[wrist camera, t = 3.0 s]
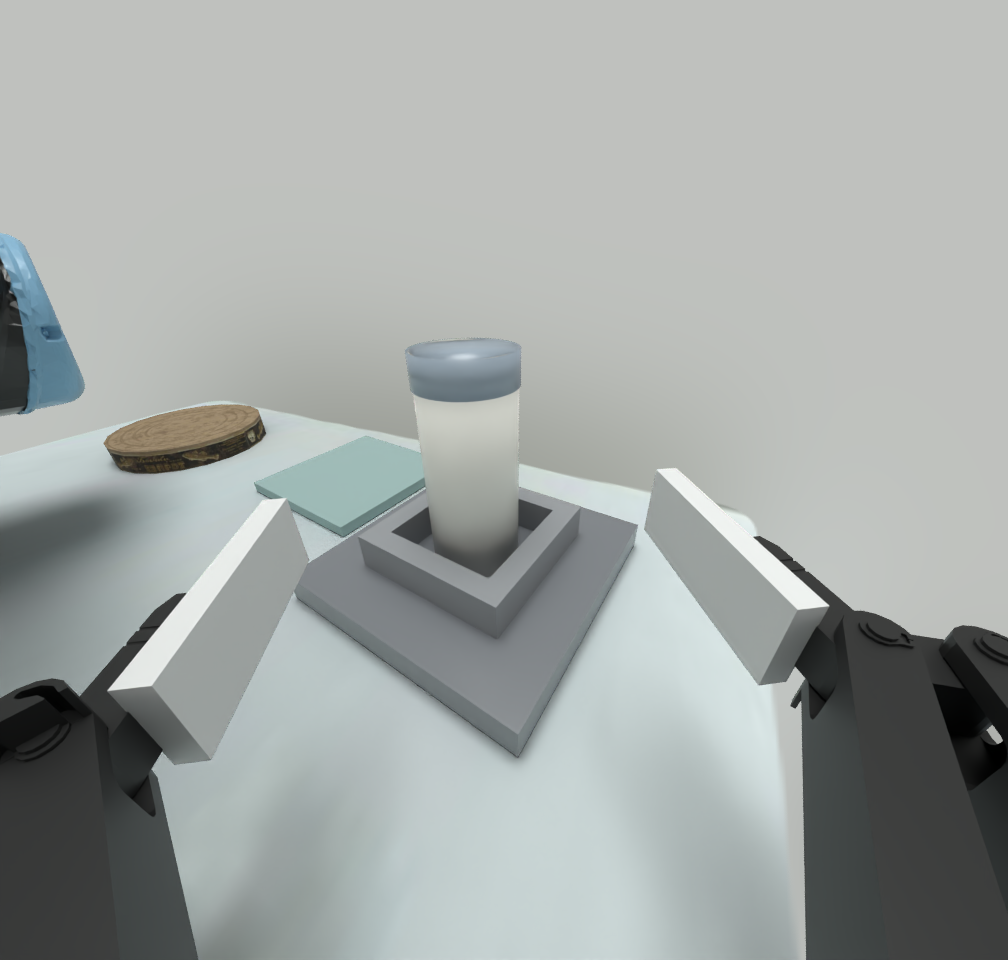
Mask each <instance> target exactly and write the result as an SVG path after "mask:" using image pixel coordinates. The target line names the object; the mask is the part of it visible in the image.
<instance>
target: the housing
mask: <svg viewBox="0 0 1008 960" xmlns="http://www.w3.org/2000/svg"><path fill="white" fill-rule="evenodd" d="M637 527H638V525H636V524H633V523H630V522H627V521H624V520H620V519H617V518H614V517H611V516H608V515H605V514H602V513H598V512H595V511H592V510H589V509H586V508H583V507H581V506H578V505H575V504H571V503H568V502H565V501H562V500H559V499H556V498H553V497H549V496H546V495H543V494H540V493H537V492H534V491H531V490H527V489H524V488H521V487H519V489H518V548H517V549H516V550H515V551H514V552H513V553H512V555H511V556H510V557H509V558H508V559H507V560H506V561H505V562H504V563H503V564H502V565H501V566H500V567H499V568H498V569H497V571H496V572H495V573H494V574H493V575H492V576H490V577H484V576H482V575H480V574H478V573H476V572H474V571H472V570H470V569H468V568H465V567H463V566H461V565H459V564H457V563H455V562H453V561H451V560H449V559H447V558H444V557H442V556H440V555H438V554H436V553H435V551H434V543H433V536H432V529H431V522H430V515H429V507H428V500H427V493H426V489H425V490H423V491H422V492H420V493H419V494H417V495H416V496H414V497H412V498H411V499H409V500H408V501H406V502H405V503H403V504H401V505H400V506H398V507H397V508H395V509H394V510H392V511H390V512H389V513H387V514H386V515H384V516H382V517H381V518H379V519H378V520H376V521H375V522H373V523H371V524H370V525H368V526H367V527H365V528H364V529H362V530H360V531H359V532H357V533H356V534H354V535H353V536H351V537H349V538H348V539H346V540H345V541H343V542H341V543H340V544H338V545H337V546H335V547H334V548H332V549H330V550H329V551H327V552H326V553H324V554H323V555H321V556H319V557H318V558H316V559H315V560H313V561H312V562H310V563H308V564H307V566H306V568H305V570H304V572H303V574H302V576H301V578H300V580H299V582H298V584H297V586H296V588H295V590H294V592H295V594H296V597H297V598H298V599H299V600H301V601H302V602H304V603H305V604H306V605H308V606H309V607H310V608H312V609H313V610H315V611H316V612H317V613H319V614H320V615H322V616H323V617H324V618H326V619H327V620H328V621H330V622H331V623H333V624H334V625H335V626H337V627H338V628H340V629H341V630H342V631H344V632H345V633H346V634H348V635H349V636H351V637H352V638H353V639H355V640H356V641H358V642H359V643H360V644H362V645H363V646H364V647H366V648H367V649H369V650H370V651H371V652H373V653H374V654H376V655H377V656H378V657H380V658H381V659H382V660H384V661H385V662H387V663H388V664H389V665H391V666H392V667H394V668H395V669H396V670H398V671H399V672H400V673H402V674H403V675H405V676H406V677H407V678H409V679H410V680H412V681H413V682H414V683H416V684H417V685H418V686H420V687H421V688H423V689H424V690H425V691H427V692H428V693H430V694H431V695H432V696H434V697H435V698H436V699H438V700H439V701H441V702H442V703H443V704H445V705H446V706H448V707H449V708H450V709H452V710H453V711H454V712H456V713H457V714H459V715H460V716H461V717H463V718H464V719H466V720H467V721H468V722H470V723H471V724H472V725H474V726H475V727H477V728H478V729H479V730H481V731H482V732H484V733H485V734H486V735H488V736H489V737H490V738H492V739H493V740H495V741H496V742H497V743H499V744H500V745H502V746H503V747H504V748H506V749H507V750H508V751H510V752H511V753H513V754H514V755H515V756H517V757H519V755H520V753H521V751H522V749H523V747H524V746H525V744H526V742H527V740H528V738H529V736H530V735H531V733H532V731H533V729H534V727H535V725H536V724H537V722H538V720H539V718H540V716H541V714H542V713H543V711H544V709H545V707H546V705H547V703H548V702H549V700H550V698H551V696H552V694H553V692H554V691H555V689H556V687H557V685H558V683H559V681H560V680H561V678H562V676H563V674H564V672H565V670H566V669H567V667H568V665H569V663H570V661H571V659H572V658H573V656H574V654H575V652H576V650H577V648H578V647H579V645H580V643H581V641H582V639H583V637H584V636H585V634H586V632H587V630H588V628H589V626H590V625H591V623H592V621H593V619H594V617H595V615H596V614H597V612H598V610H599V608H600V606H601V604H602V603H603V601H604V599H605V597H606V595H607V593H608V592H609V590H610V588H611V586H612V584H613V582H614V581H615V579H616V577H617V575H618V573H619V571H620V570H621V568H622V566H623V564H624V562H625V560H626V559H627V557H628V555H629V553H630V551H631V549H632V548H633V546H634V542H635V537H636V532H637Z"/></svg>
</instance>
